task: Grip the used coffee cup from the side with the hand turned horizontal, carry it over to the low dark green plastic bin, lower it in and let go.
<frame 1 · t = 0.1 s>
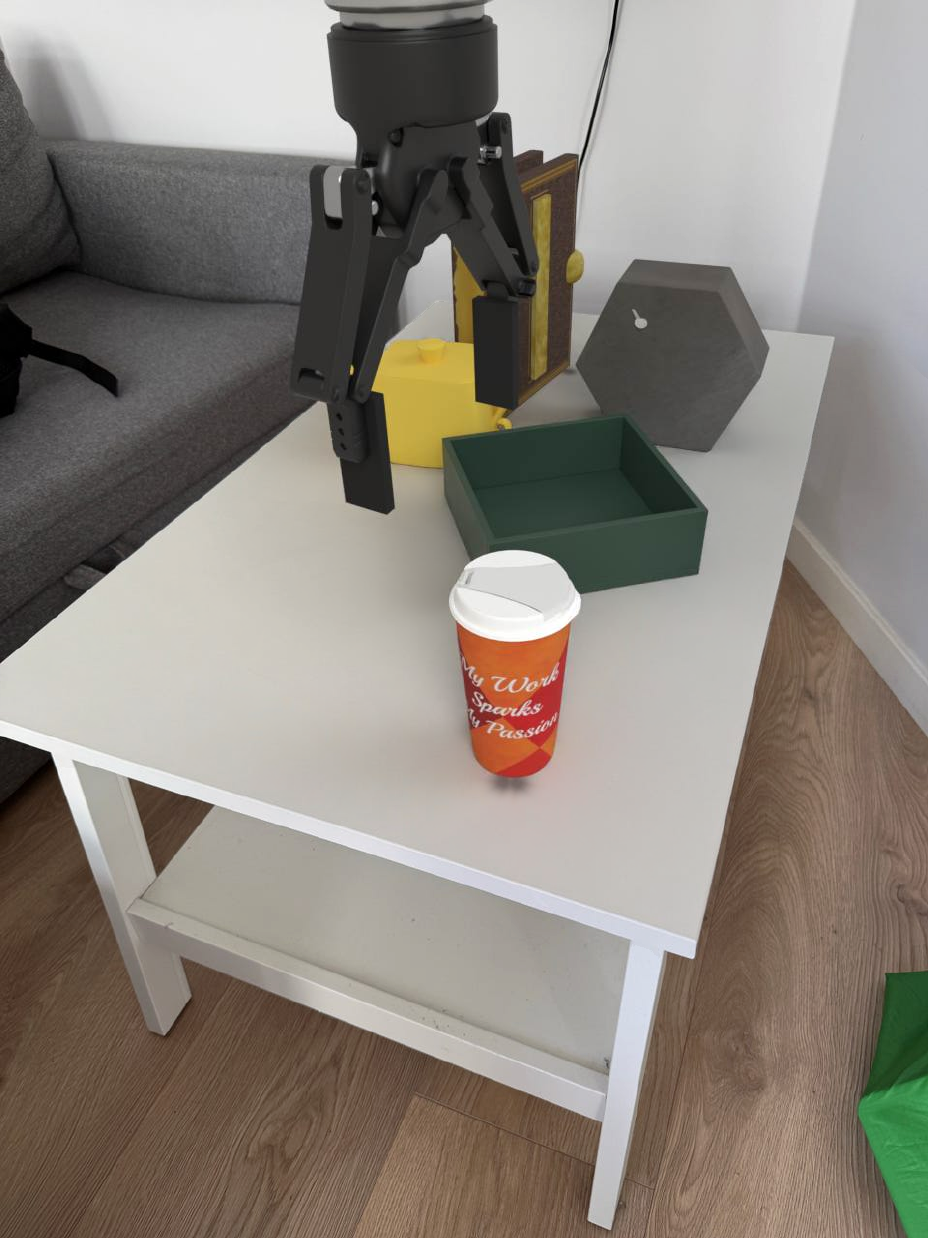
hand: (438, 450, 53), 24 cm above the table, tool pointing down, fingers open, 13 cm apart
coffee cup: (514, 749, 67), on the table
book: (518, 384, 115), on the table
teapot: (428, 443, 104), on the table
bin: (563, 533, 88), on the table
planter: (663, 431, 104), on the table
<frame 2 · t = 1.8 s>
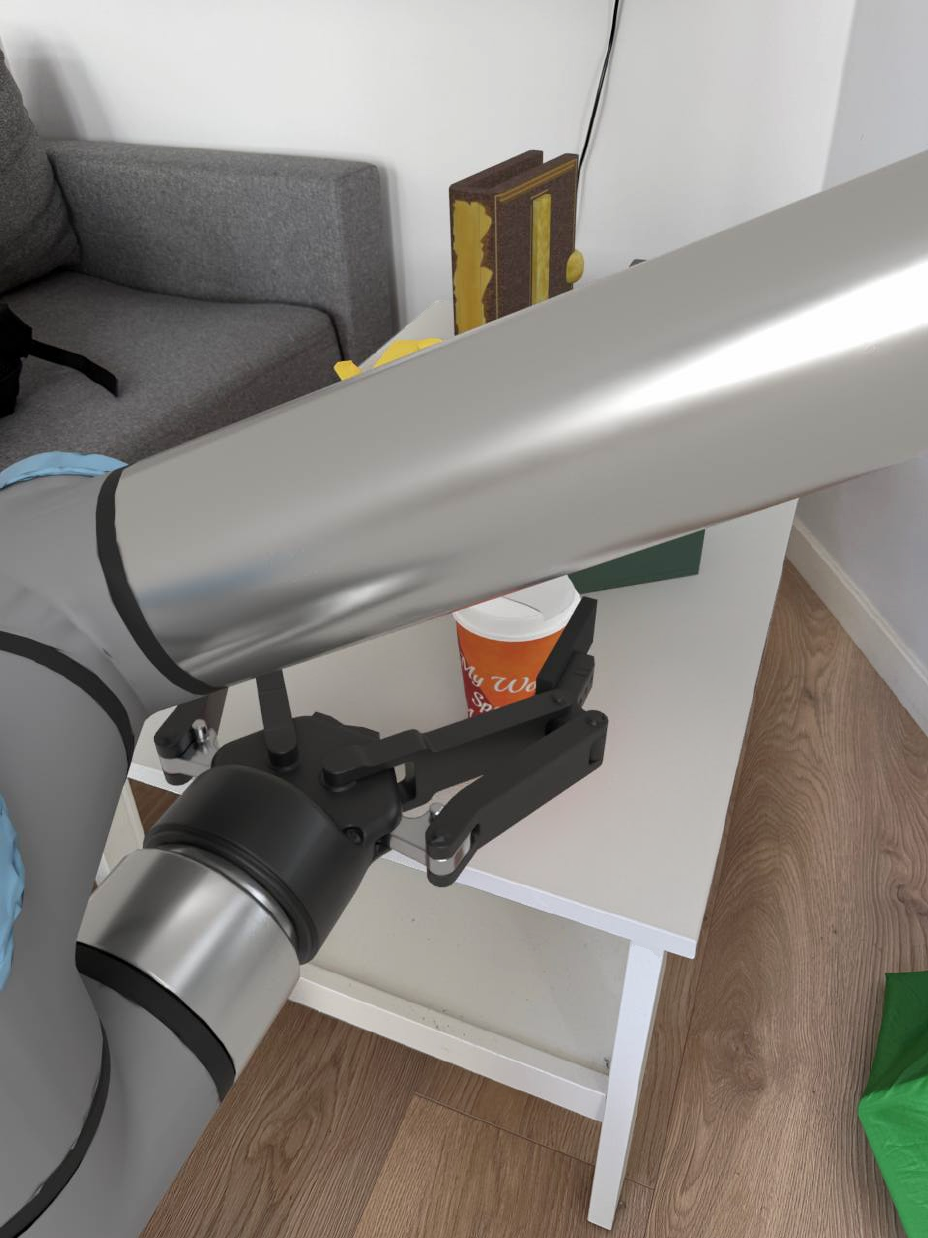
hand: (463, 585, 48), 21 cm above the table, tool horizontal, fingers open, 13 cm apart
nothing on the table moved.
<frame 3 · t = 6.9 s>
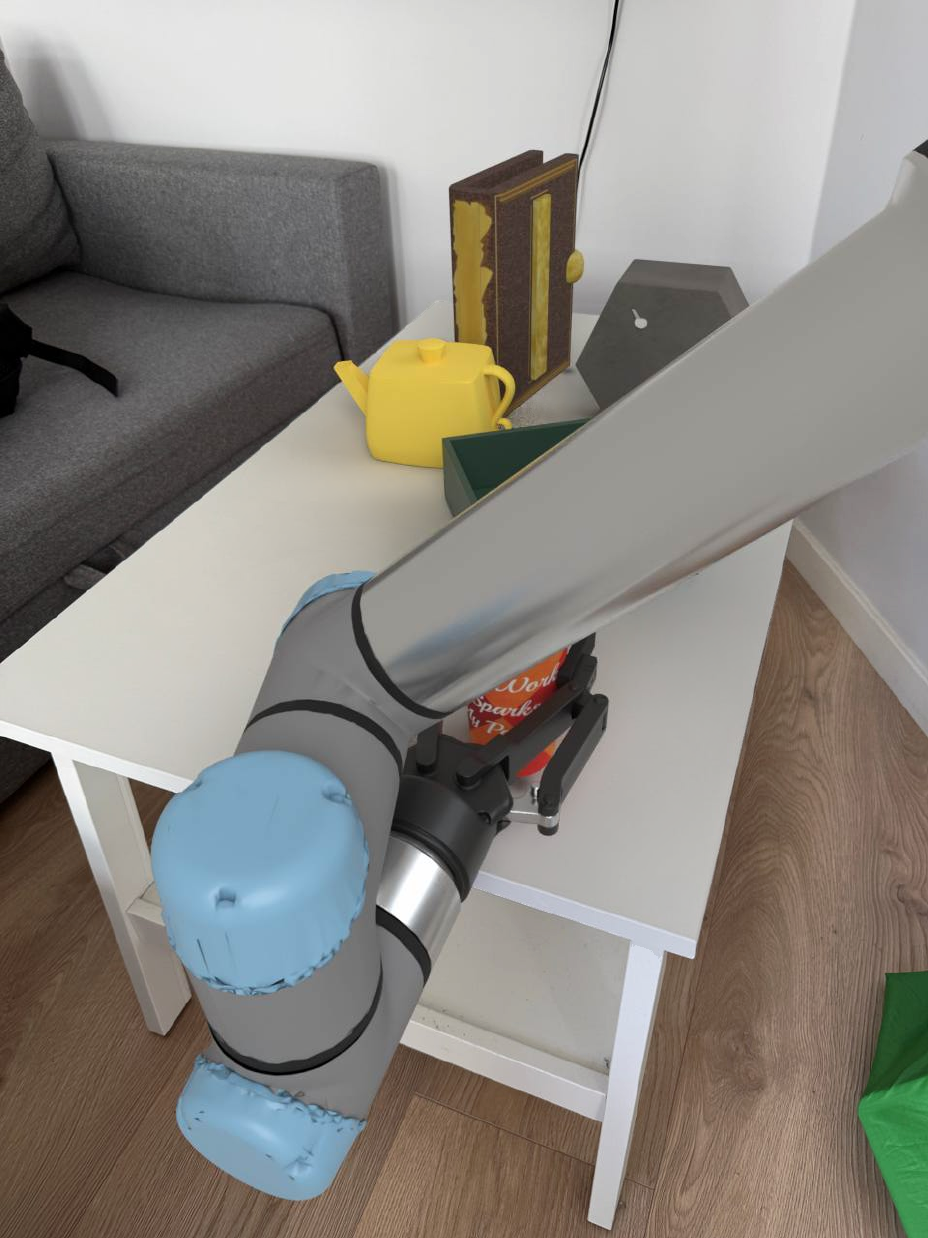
hand: (537, 618, 65), 8 cm above the table, tool horizontal, fingers closed on coffee cup, 7 cm apart
coffee cup: (514, 749, 67), on the table, touching gripper
everything else where it was.
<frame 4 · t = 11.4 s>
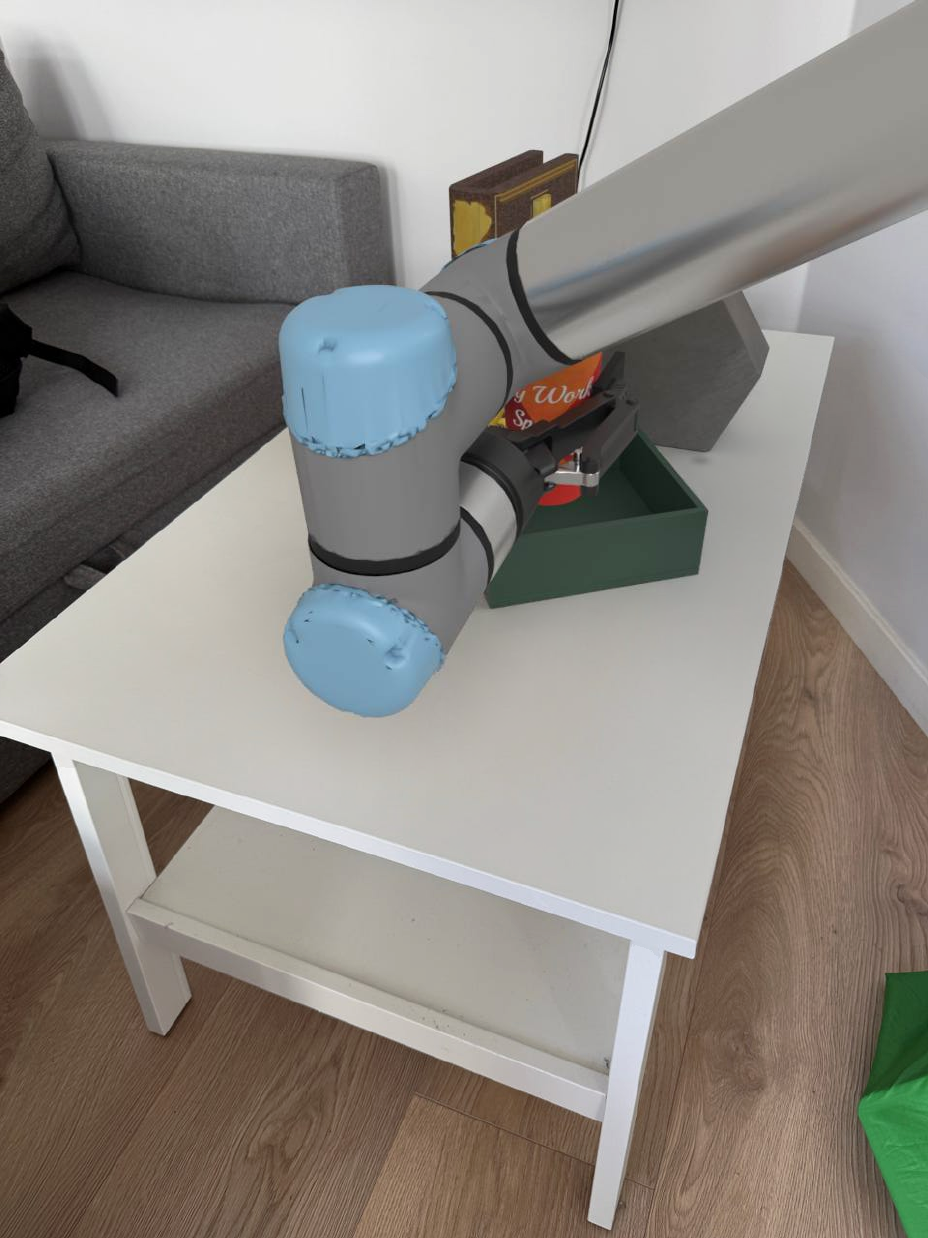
hand: (570, 362, 71), 20 cm above the table, tool horizontal, fingers closed on coffee cup, 7 cm apart
coffee cup: (548, 488, 73), point 11 cm above the table, touching gripper
everything else where it was.
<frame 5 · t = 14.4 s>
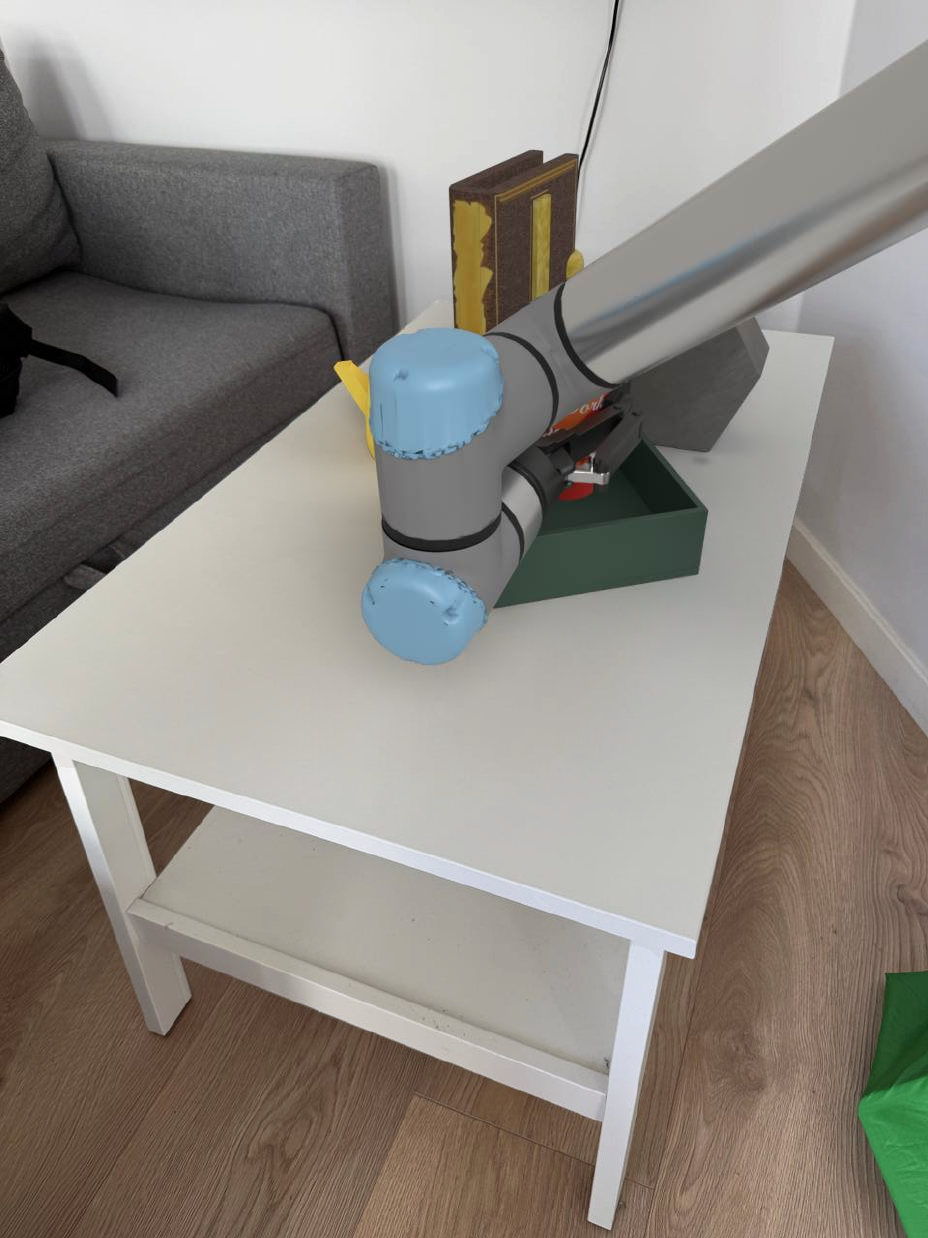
hand: (584, 378, 83), 14 cm above the table, tool horizontal, fingers closed on coffee cup, 7 cm apart
coffee cup: (565, 485, 85), point 5 cm above the table, touching gripper
everything else where it was.
when the fingers open (9 cm above the table, at t = 16.3 s): coffee cup stays where it is, resting on bin.
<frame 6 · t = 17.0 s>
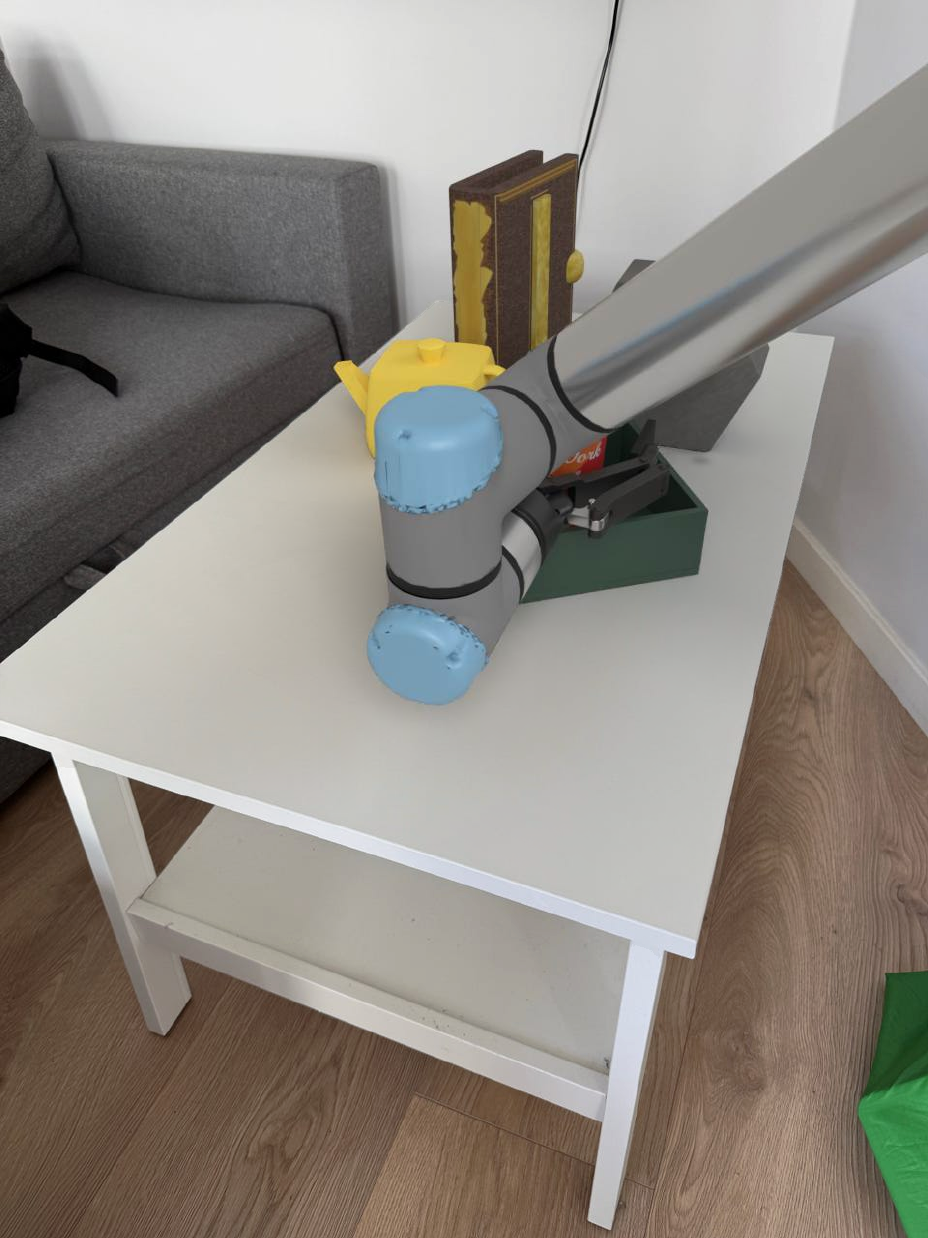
hand: (577, 422, 84), 10 cm above the table, tool horizontal, fingers open, 13 cm apart
coffee cup: (563, 527, 88), point 1 cm above the table, touching bin
everything else where it was.
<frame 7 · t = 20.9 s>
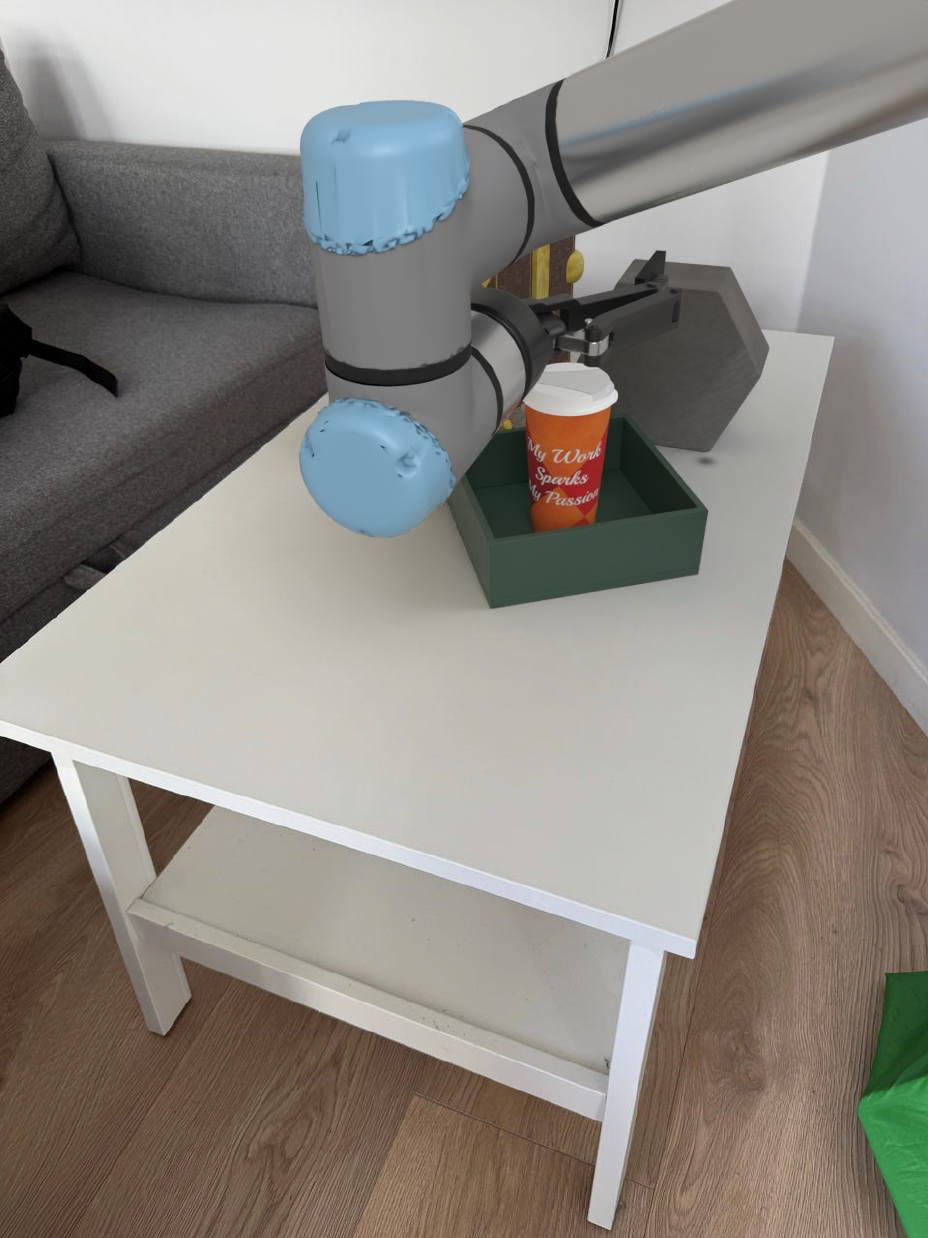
hand: (573, 260, 72), 26 cm above the table, tool horizontal, fingers open, 13 cm apart
nothing on the table moved.
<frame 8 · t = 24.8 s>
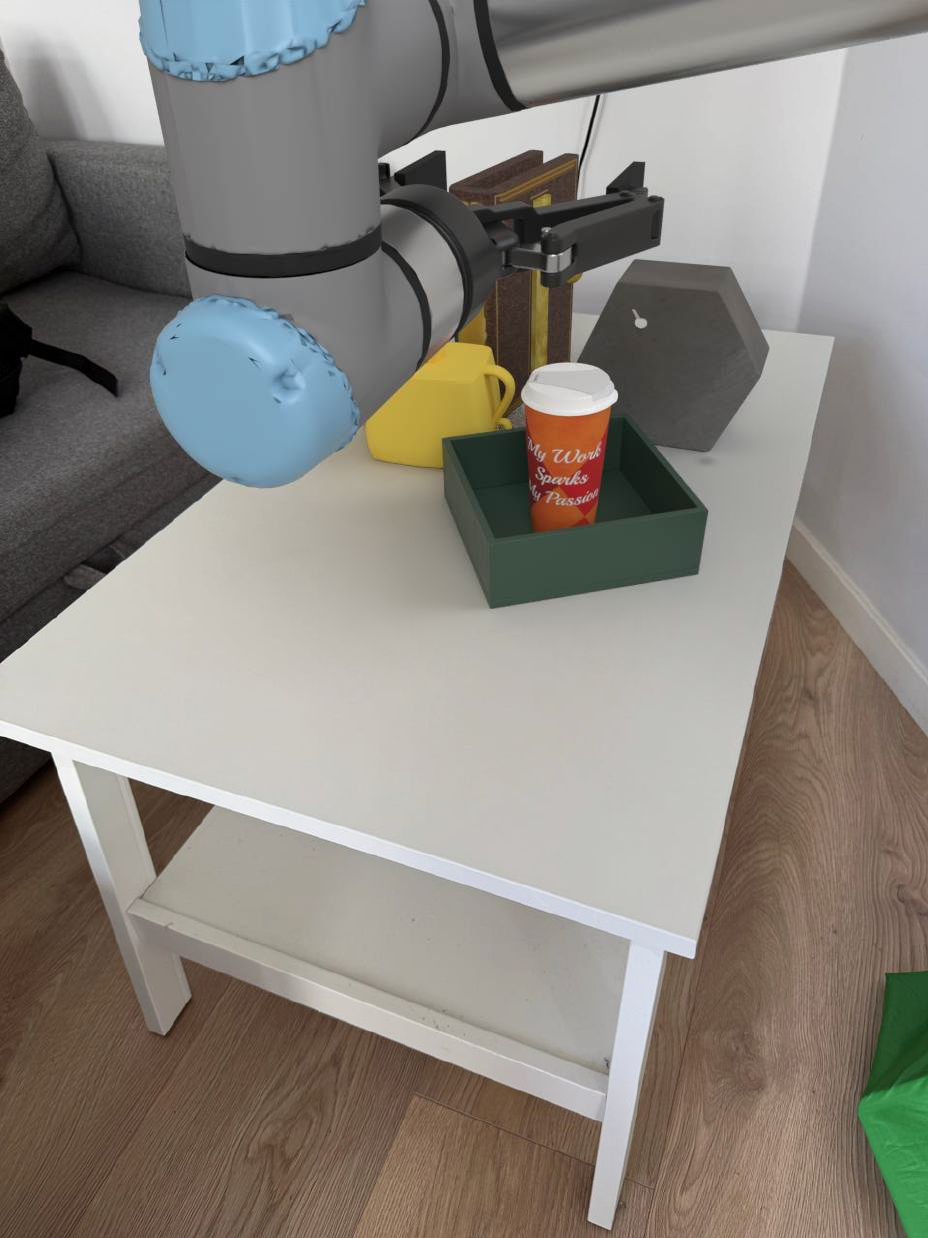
hand: (536, 177, 60), 34 cm above the table, tool horizontal, fingers open, 13 cm apart
nothing on the table moved.
at the end: coffee cup inside the target area in the bin (0.0 cm from its centre), point 0.6 cm above the bin's base; the gripper is holding nothing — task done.
